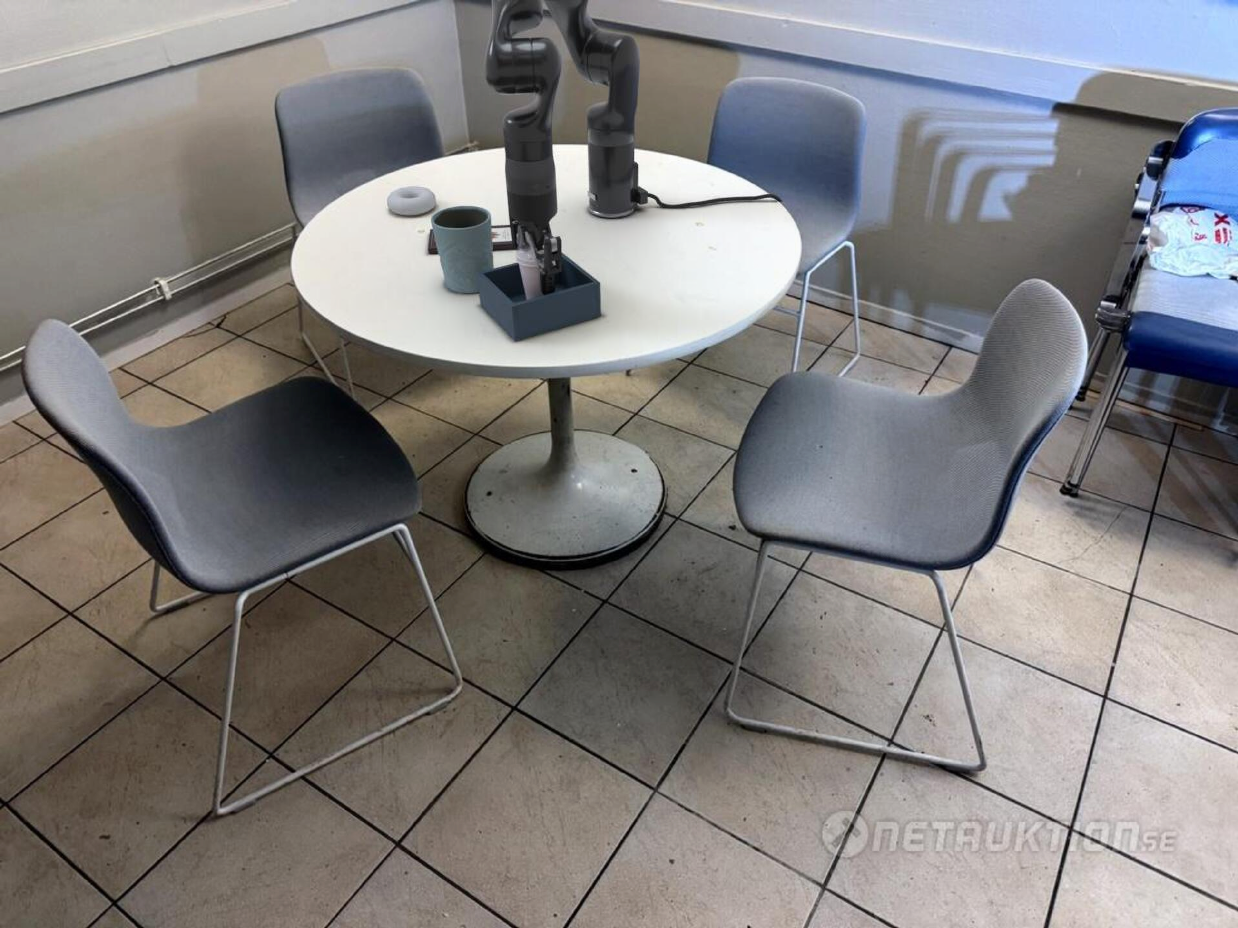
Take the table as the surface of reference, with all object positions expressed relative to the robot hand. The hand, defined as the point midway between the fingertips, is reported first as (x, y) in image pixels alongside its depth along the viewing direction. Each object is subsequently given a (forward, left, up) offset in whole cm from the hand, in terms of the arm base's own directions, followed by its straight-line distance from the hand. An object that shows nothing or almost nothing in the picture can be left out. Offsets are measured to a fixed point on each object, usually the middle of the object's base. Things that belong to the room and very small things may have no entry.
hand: (538, 284), depth 136 cm
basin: (0, 0, -5) cm, 5 cm away
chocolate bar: (-2, -31, -5) cm, 31 cm away
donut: (+3, -53, -5) cm, 53 cm away
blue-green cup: (+6, -16, -5) cm, 18 cm away
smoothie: (0, 0, -4) cm, 4 cm away
